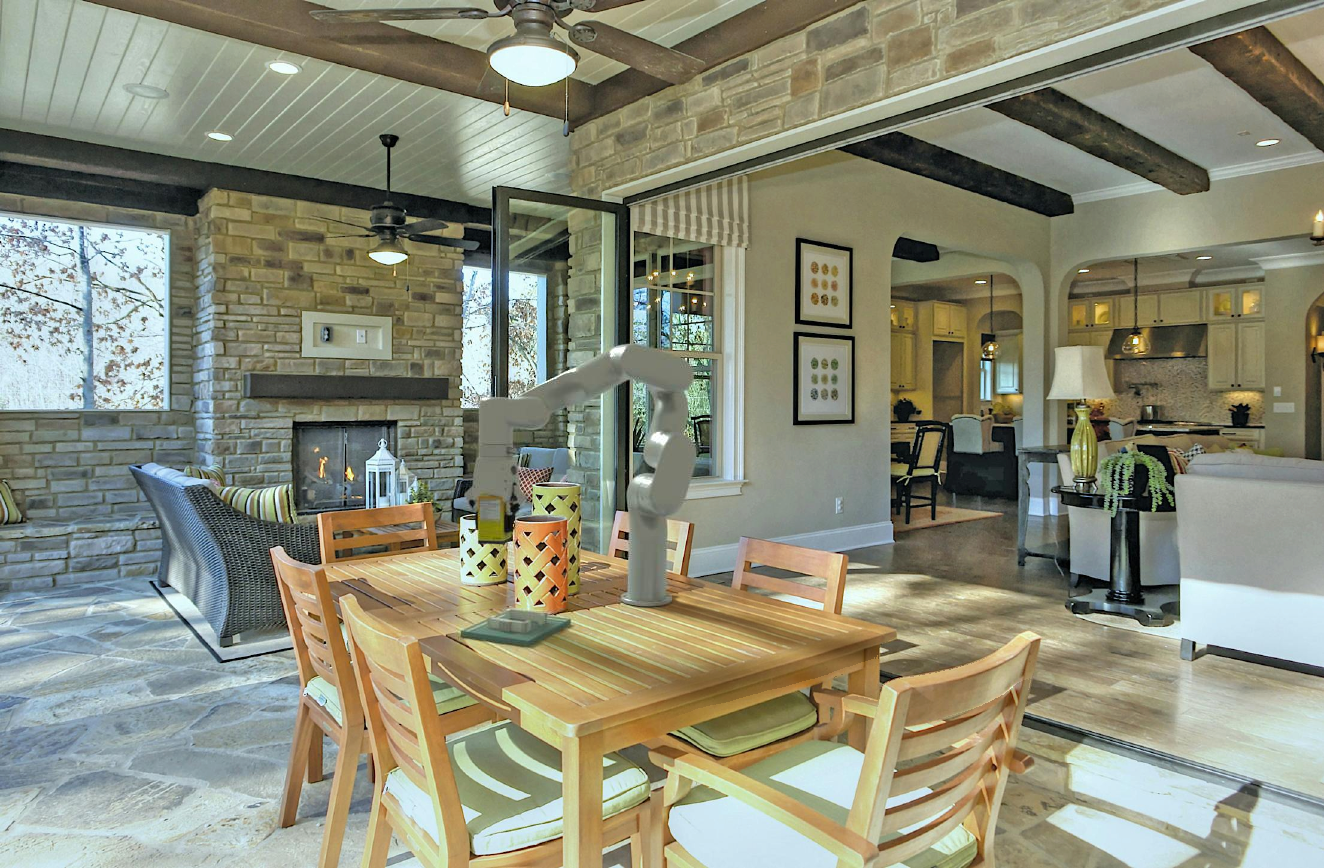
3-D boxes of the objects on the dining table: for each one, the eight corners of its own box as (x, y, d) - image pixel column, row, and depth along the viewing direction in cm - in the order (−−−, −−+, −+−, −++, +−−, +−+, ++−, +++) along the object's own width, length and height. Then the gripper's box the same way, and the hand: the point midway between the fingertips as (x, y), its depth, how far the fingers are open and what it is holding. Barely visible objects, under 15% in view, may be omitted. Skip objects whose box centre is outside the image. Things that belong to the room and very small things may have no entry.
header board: (507, 615, 181) (508, 601, 181) (570, 624, 176) (571, 609, 176) (460, 636, 165) (460, 621, 164) (528, 646, 159) (528, 631, 159)
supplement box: (511, 540, 183) (512, 493, 183) (503, 545, 177) (503, 496, 177) (486, 539, 184) (487, 492, 184) (477, 544, 178) (477, 495, 178)
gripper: (537, 452, 180) (536, 531, 181) (473, 449, 187) (472, 525, 187) (519, 454, 173) (518, 536, 174) (453, 451, 180) (452, 530, 180)
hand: (495, 530), depth 181 cm, fingers closed on supplement box, 7 cm apart
